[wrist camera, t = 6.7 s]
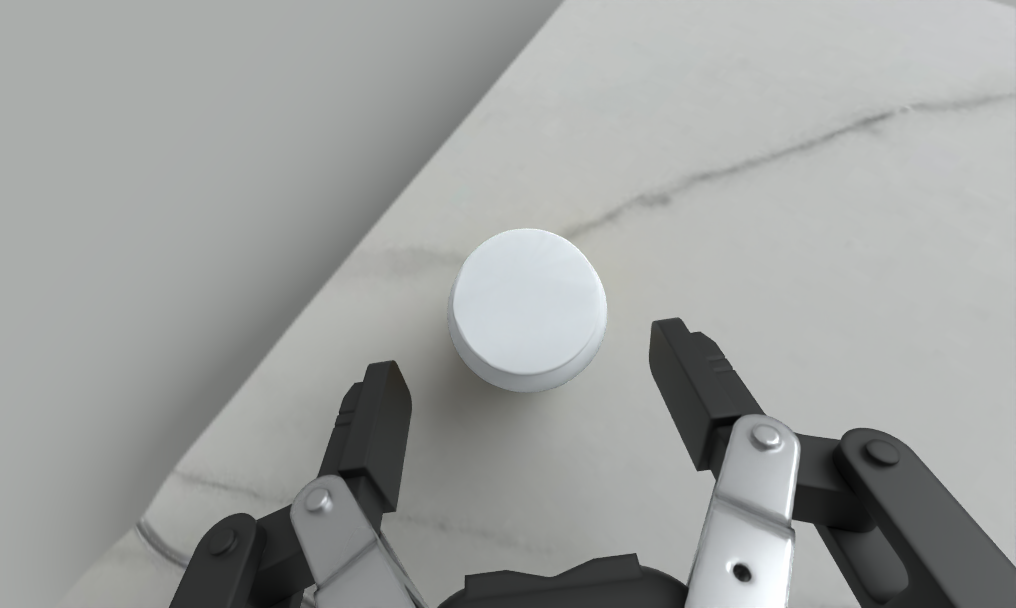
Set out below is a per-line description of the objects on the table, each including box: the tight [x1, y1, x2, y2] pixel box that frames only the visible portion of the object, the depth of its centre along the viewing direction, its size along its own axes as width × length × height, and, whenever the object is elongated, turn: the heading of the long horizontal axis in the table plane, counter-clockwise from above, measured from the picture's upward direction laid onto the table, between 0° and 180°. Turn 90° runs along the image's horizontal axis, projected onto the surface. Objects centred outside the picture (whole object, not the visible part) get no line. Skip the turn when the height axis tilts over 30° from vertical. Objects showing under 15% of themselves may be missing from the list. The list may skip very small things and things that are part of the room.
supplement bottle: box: [448, 229, 607, 392], centre depth 15 cm, size 5×5×10 cm
